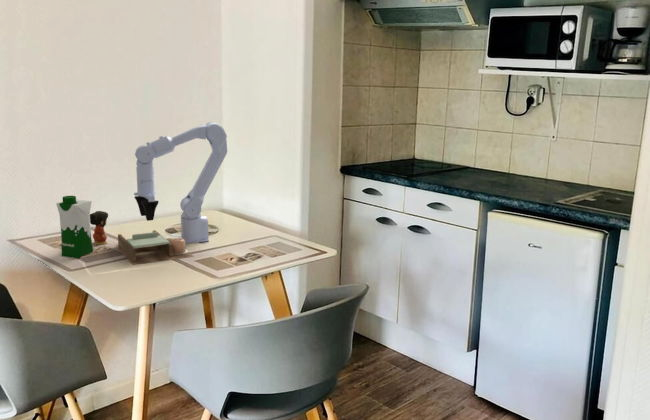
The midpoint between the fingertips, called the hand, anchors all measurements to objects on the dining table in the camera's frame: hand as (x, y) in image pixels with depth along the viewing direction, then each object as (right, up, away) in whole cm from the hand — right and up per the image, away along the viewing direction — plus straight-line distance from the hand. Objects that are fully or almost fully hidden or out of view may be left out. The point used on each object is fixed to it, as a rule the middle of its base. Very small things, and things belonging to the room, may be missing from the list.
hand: (147, 217), depth 210 cm
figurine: (-16, -10, -1) cm, 19 cm away
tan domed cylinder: (+13, -11, -9) cm, 20 cm away
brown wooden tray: (+5, -12, -8) cm, 15 cm away
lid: (+4, -8, -14) cm, 17 cm away
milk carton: (-19, -12, -13) cm, 26 cm away
